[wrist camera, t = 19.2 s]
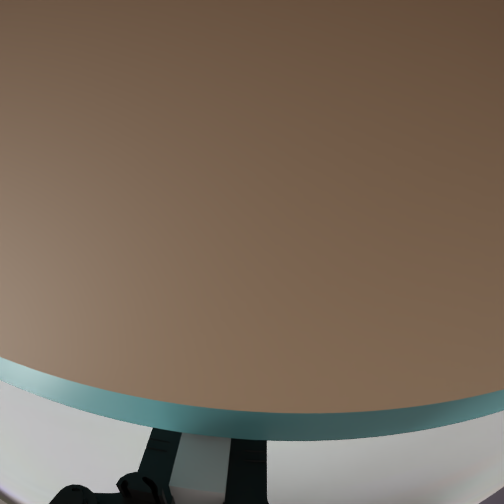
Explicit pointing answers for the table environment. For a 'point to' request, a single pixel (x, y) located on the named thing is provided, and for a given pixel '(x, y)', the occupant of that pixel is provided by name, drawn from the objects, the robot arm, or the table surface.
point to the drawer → (248, 412)
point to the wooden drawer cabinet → (255, 199)
